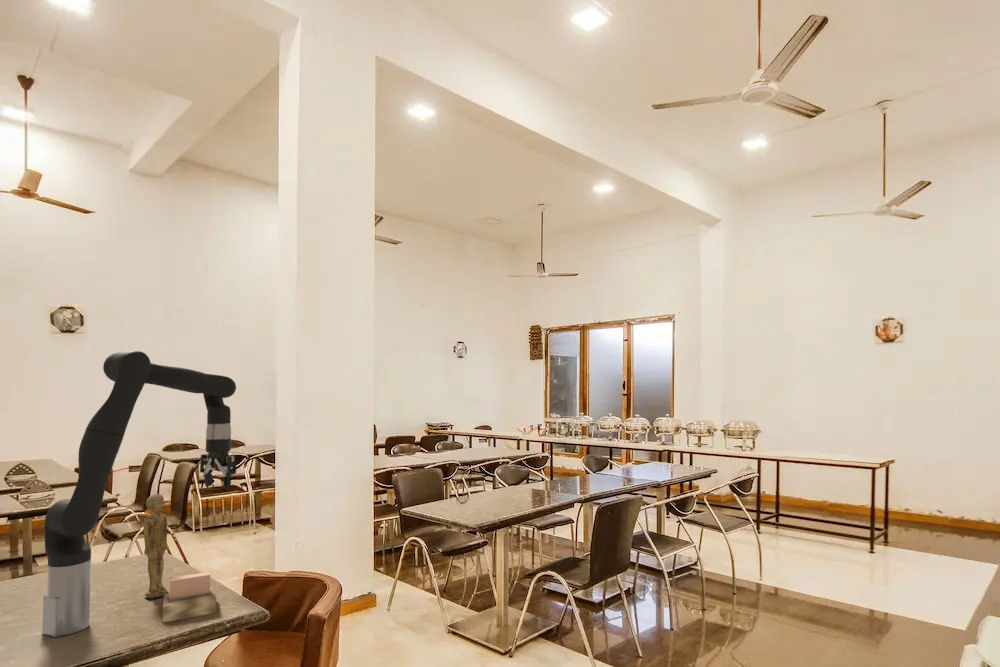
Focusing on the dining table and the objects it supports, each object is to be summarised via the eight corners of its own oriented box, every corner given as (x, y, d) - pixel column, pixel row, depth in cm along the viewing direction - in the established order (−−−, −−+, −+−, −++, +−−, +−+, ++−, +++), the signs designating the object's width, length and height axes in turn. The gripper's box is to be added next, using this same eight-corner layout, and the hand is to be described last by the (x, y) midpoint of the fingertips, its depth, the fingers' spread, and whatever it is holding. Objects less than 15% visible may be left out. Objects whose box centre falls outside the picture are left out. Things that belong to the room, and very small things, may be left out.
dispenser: (162, 622, 162) (162, 604, 162) (163, 608, 171) (164, 591, 172) (216, 612, 168) (216, 595, 168) (214, 599, 177) (214, 583, 178)
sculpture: (148, 601, 177) (150, 497, 179) (138, 597, 181) (140, 495, 183) (172, 594, 182) (173, 493, 184) (162, 590, 186) (164, 491, 188)
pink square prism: (169, 616, 166) (169, 580, 167) (169, 612, 169) (170, 577, 169) (209, 609, 171) (210, 574, 171) (209, 605, 173) (209, 571, 174)
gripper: (193, 437, 200) (192, 487, 199) (224, 439, 194) (223, 490, 193) (213, 435, 207) (212, 483, 206) (243, 436, 201) (242, 486, 200)
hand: (217, 486), depth 199 cm, fingers open, 8 cm apart
